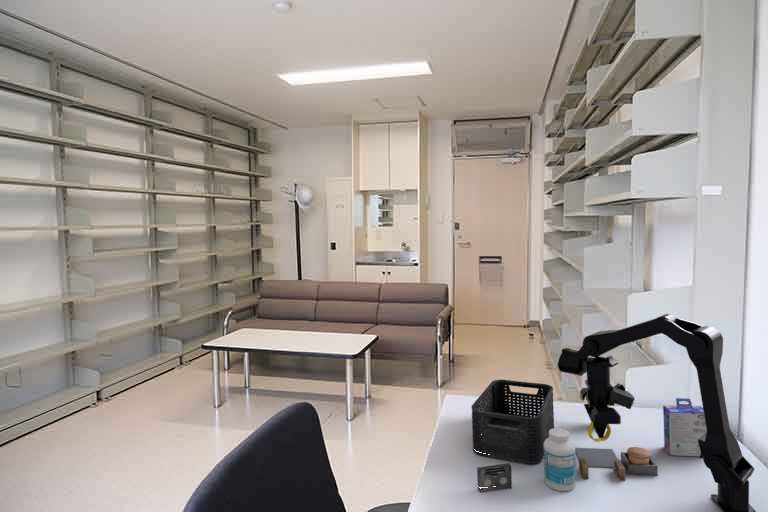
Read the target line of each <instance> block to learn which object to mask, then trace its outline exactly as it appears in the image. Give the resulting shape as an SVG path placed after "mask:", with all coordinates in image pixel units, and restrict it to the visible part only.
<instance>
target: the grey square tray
mask: <svg viewBox="0 0 768 512" xmlns="http://www.w3.org/2000/svg"><path fill="white" fill-rule="evenodd" d="M620 461H621V463H622V465H623V467H624V468H625V472H626V473H627V474H628V475H634V476H652V477H653V476H655V477H657V476H658V475H659V474H658V473H659V472H658V471H659V469H658V467H659V466H658V465H657V463H656V462H655V460H654V459H653V458H652V456H651V455H650V457H649V465H644V464H630V463H629V461H628V453H627V451H621V452H620Z"/></svg>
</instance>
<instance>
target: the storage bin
mask: <svg viewBox="0 0 768 512" xmlns="http://www.w3.org/2000/svg"><path fill="white" fill-rule="evenodd" d="M510 386H511V387H512V386H513V387H517V388H518V387H519V388H529V389H537V392H536V393H528V392H518V391H512V390H511V388H510ZM554 409H555V407H554V387H553V386H552V385H549V384H545V383H538V382H537V383H536V382H528V381H518V380H510V379H495V380H492V381H491V382H490V383H489V384H488V386H487V387H486V388H485V389H484V390H483V392H482V393H481V394H480V395H479V396H478V397H477V399H476V400H475V401H474V403H472V405H471V417H472V419H471V423H472V427H471V430H472V435H471V436H472V451H473V452H474V453H475V454H477V455H479V456H483V457H487V458H488V457H489V458H493V459H499V460H504V461H509V462H511V461H512V462H516V463H522V464H530V465H531V464H535V465H536V464H539V463H541V462H542V461H543V460H544V441H545V440H546V439H547V438H549V430H551V429H554V428H555V416H554V415H555V412H554ZM481 434H482V435H481ZM473 448H474V449H475V450H476V451H479V452H482V453H479V452H476V451H475V450H474V449H473ZM483 453H486V454H483ZM488 454H490V455H488Z"/></svg>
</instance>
